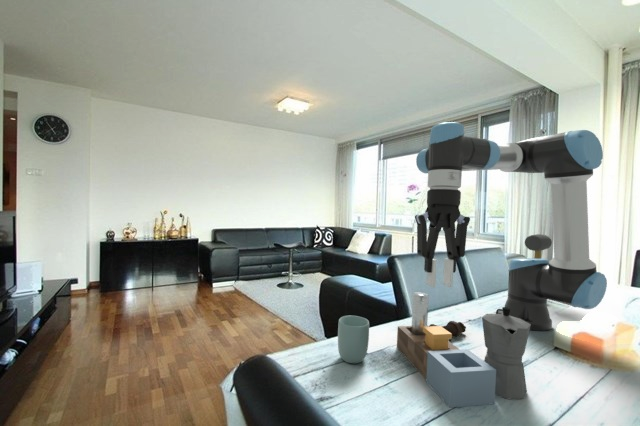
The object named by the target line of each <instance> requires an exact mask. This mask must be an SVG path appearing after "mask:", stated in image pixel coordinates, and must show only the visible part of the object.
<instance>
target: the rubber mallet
mask: <svg viewBox="0 0 640 426" xmlns="http://www.w3.org/2000/svg"><path fill="white" fill-rule="evenodd" d="M524 240H525V241H524V246H525V247H526V248H527V249H528V250H529V251H532V252H533V251H534V255H533V256H534V257H533V259H542V251H544V250H548V249H549V248H551V246H552V242H553V241H552V239H551V238H550V236H548V235H546V234H538V233H537V234H531V235H528V236H527V237H526V238H525V239H524Z"/></svg>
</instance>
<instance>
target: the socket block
mask: <svg viewBox="0 0 640 426" xmlns="http://www.w3.org/2000/svg"><path fill="white" fill-rule="evenodd" d="M428 326H429V325H428V324H427V327H428ZM411 328H412V325H398V326H397V335H396V348H397V350H399V351H400V353H401V354H402V355H403V356H404V357H405V358H406V359H407V361H408V362H410V364H411V365H412V366H413V367H414V368H415V369H416V370H417V371H418V372H419V373H420V374H421V376H423V378H424V379H425V380H426V376H427V355H428V351H441V350H432V349H431V348H430V347H429V346H428V345H426V344H425V337H426V335H416V336H415V335H413V334H412V333H411ZM445 350H461V349H460V348H459V347H457V346H456V345H455V344H453V343H452V342H451V341H449V340H448V349H445Z"/></svg>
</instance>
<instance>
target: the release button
mask: <svg viewBox="0 0 640 426" xmlns="http://www.w3.org/2000/svg"><path fill="white" fill-rule="evenodd" d="M423 332H424V333H425V334H426V337H425V344H426V345H428V346H429V347H430V348H431V349H432V350H445V349H448V341H449V340H452V338H453V336H452V334H451V333H450V332H448V331H447V330H446V329H444V328H443V327H442V326H440V325H437V326H429V325H428V327H423Z"/></svg>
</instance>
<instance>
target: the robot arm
mask: <svg viewBox="0 0 640 426" xmlns="http://www.w3.org/2000/svg"><path fill="white" fill-rule="evenodd" d="M464 129H465V127H464V125H463V124H462V123H459V122H457V121H454V122H453V121H451V122H450V121H449V122H441V123H437V124H434V125H433V126H432V127H431V129H430V135H429V142H428V147H427V148H424V149H422V150H420V151H419V152H418V154H417V156H416V159H415V160H416V166H417V169H418V171H420V173H423V174H427V175H428V176H427V188H429V189H428V191H427V192H426V193H427V194H426V205H427V207H426V209H425V211H424V213H421V214H415V215H414V219H415V222H416V240H417V241H416V244H417V245H416V246H417V247H416V253H417V256H420V257H422V258H424V265H423V267H424V272H425V273H426V285H427V286H428V287H431V288H436V282H437V281H436V280H437V259H436V258H434V257H435V253H436V249H437V243H438V239H439V235H440V232H441V231H443V233H444V239H445V248H446V256H447V257H444V258H443V259H444V260H443V275H442V276H443V278H442V279H443V280H442V285H443V286H446V287H448V288H453V282H454V281H453V280H454V273H456V271H457V261H459V260H460V259H461V258H463V257H465V254H466V253H465V252H466V246H467V245H466V244H467V243H466V242H467V233H468V226H469V224H470V221H471V217H470V216H465V215H464V214H461V211H460V209H459V208H460V205H461V195H462V192H461V190H460V188H461V187H462V172H472V171H473V172H474V171H493V170H494V171H495V170H500V171H501V172H505V173H524V174H525V173H527V174H544V180H546V181H547V182H548V183H550V193H551V195H550V196H551V197H550V198H551V215H552V216H551V217H552V235H553V236H552V239H553V241H552V242H553V257H552V259H547V258H541V259H534V258H525V257H524V258H513V259H511V260H510V261H509V266H508V267H509V268H508V283H507V284H508V285H507V299H506V301H505V303H504V306H503V307H508V308H510V309H511V310H510V314H509V316H513V317H516V318H520V319H522V320H524V321H525V322H527V323H529V324H531V326H530V330H532V331H540V332H541V331H542V332H544V331H545V330H546V331H551V330H552V329H551V328H552V327H553V320H552V319H551V316H550V311H549V308H548V304H547V303H548V300H549V301H552V302H553V301H554V302H556V303H561V304H563V305H567V306H571V307H572V308H580V309H584V310H592V309H594V308H596V307H598V305H600V304H601V302H602V301H603V299H604V296H605V294H606V292H607V287H608V286H607V285H608V284H607V283H608V281H607V277H606V275H605V274H604V273H601V272H599V271H597V264H596V263H595V262H594V261H593V260H591V259H590V240H589V236H590V234H589V212H588V185H587V181H588V180H590V178H591V177H593V175H594V170H595V169H598V168H600V166H601V164H602V160H603V159H604V153H603V152H604V151H603V148H602V144H601V142H600V140H599V138H598V137H597V135H596V134H595V133H594V132H592V131H591V130H588V129H579V130H569V131H565V132H559V133H555V134H549V135H544V136H543V135H542V136H538V137H537V136H536V137H533V138H529V139H524V140H519V141H516V142H507V143H503V144H502V145H499V144H498V143H496V142H495V141H494V140H489V139H487V138H479V137H473V136H468V135H466V134H465V130H464ZM428 221H429V226H428V225H427V222H428ZM456 223H457V224H456Z"/></svg>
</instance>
